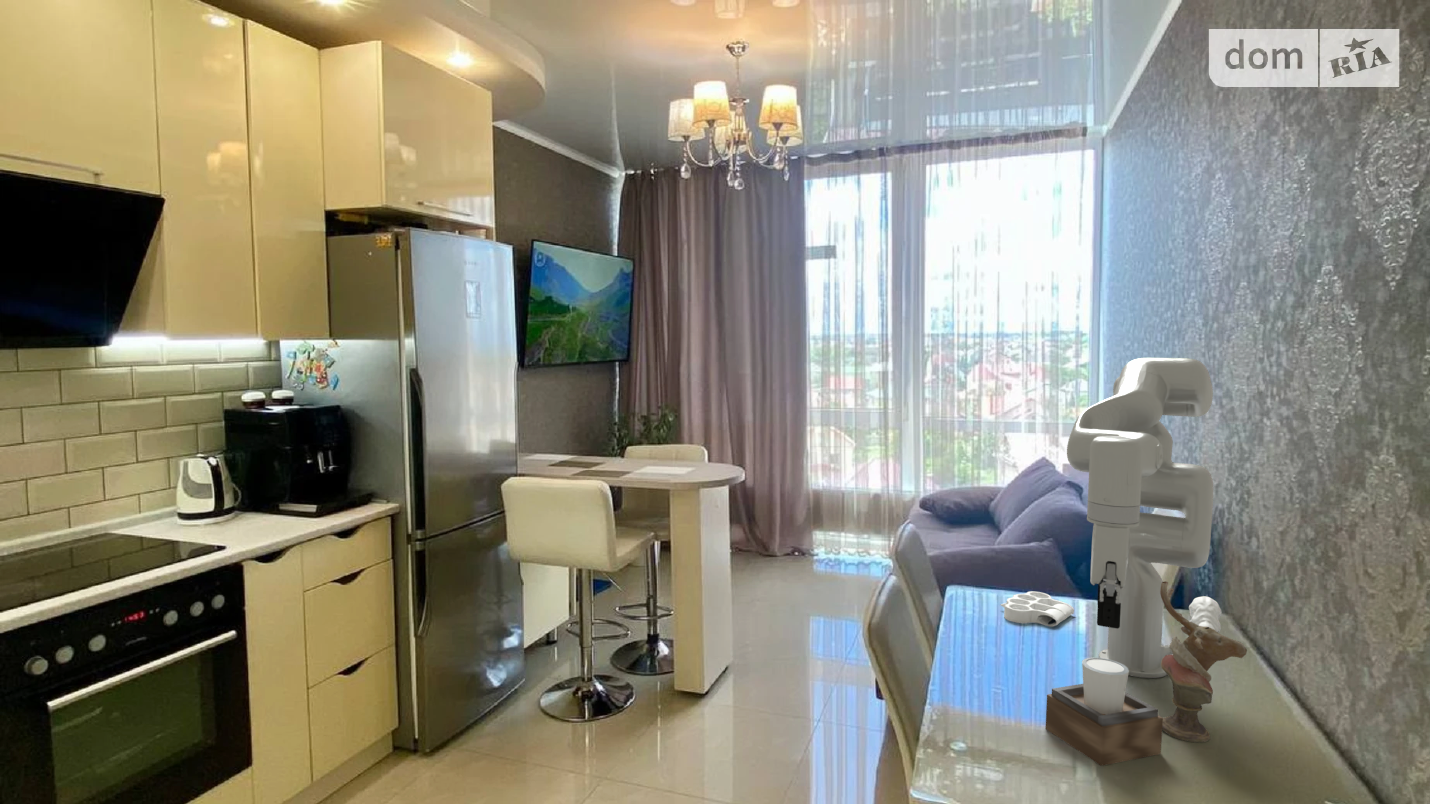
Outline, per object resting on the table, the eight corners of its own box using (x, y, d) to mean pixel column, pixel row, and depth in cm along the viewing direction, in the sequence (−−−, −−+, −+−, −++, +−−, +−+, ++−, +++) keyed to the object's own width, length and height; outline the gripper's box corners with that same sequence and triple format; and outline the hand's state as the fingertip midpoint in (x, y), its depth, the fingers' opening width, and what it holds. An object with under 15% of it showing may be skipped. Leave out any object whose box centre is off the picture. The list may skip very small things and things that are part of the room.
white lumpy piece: (1222, 596, 174) (1225, 616, 164) (1219, 631, 175) (1222, 654, 165) (1189, 591, 177) (1190, 611, 167) (1187, 625, 179) (1188, 647, 168)
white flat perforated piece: (1051, 633, 175) (989, 617, 185) (1078, 614, 188) (1019, 600, 198) (1052, 619, 174) (989, 603, 184) (1079, 600, 187) (1019, 587, 198)
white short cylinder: (1132, 719, 121) (1134, 676, 121) (1085, 713, 123) (1087, 671, 122) (1120, 699, 128) (1122, 659, 127) (1075, 695, 129) (1077, 654, 129)
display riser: (1101, 718, 134) (1103, 678, 133) (1160, 753, 122) (1163, 710, 122) (1045, 728, 130) (1047, 687, 129) (1101, 765, 118) (1103, 720, 118)
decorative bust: (1262, 737, 125) (1242, 586, 125) (1198, 756, 122) (1177, 602, 122) (1206, 712, 136) (1187, 573, 136) (1146, 729, 133) (1126, 587, 133)
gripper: (1088, 500, 133) (1083, 597, 134) (1086, 522, 117) (1081, 630, 119) (1137, 505, 129) (1132, 603, 131) (1142, 527, 114) (1136, 639, 115)
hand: (1108, 616), depth 125 cm, fingers open, 9 cm apart
